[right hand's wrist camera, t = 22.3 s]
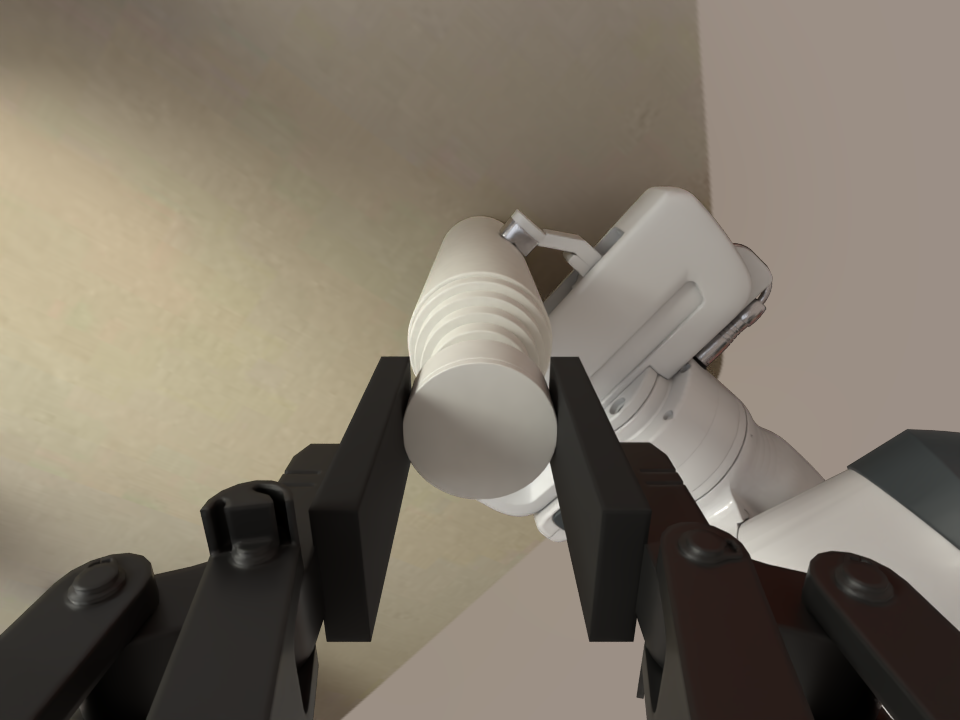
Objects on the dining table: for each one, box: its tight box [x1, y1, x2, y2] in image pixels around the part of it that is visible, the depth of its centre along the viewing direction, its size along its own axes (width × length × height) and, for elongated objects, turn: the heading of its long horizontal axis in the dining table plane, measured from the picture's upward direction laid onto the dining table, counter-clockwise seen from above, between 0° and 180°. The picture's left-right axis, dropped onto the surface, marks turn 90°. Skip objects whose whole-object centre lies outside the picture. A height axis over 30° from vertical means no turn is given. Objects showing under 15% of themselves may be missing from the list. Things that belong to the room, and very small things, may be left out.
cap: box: [403, 339, 557, 500], centre depth 14 cm, size 4×4×2 cm
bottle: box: [408, 216, 553, 376], centre depth 24 cm, size 5×5×22 cm
